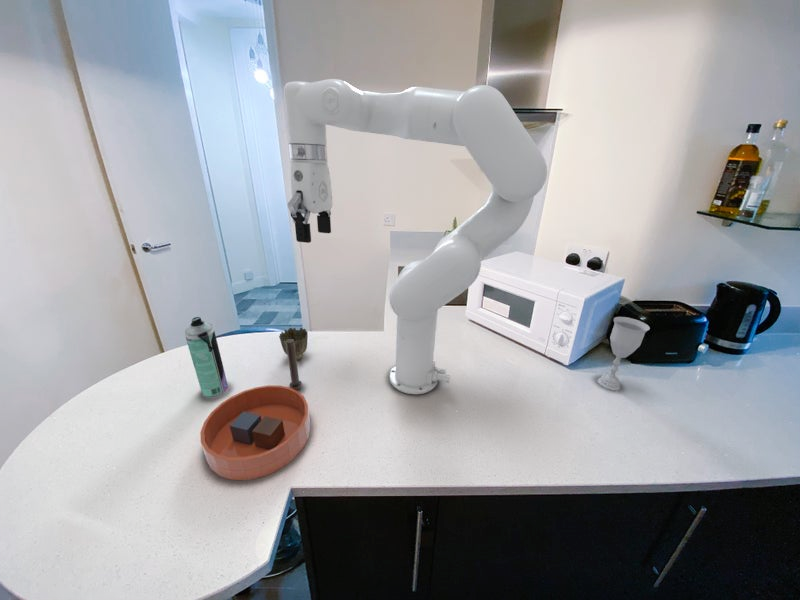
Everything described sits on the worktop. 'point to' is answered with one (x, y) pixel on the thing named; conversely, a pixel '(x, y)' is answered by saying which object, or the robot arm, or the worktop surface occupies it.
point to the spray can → (206, 358)
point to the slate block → (244, 427)
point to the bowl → (249, 459)
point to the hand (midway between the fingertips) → (314, 237)
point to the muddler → (293, 365)
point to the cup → (295, 340)
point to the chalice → (623, 346)
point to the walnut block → (268, 433)
